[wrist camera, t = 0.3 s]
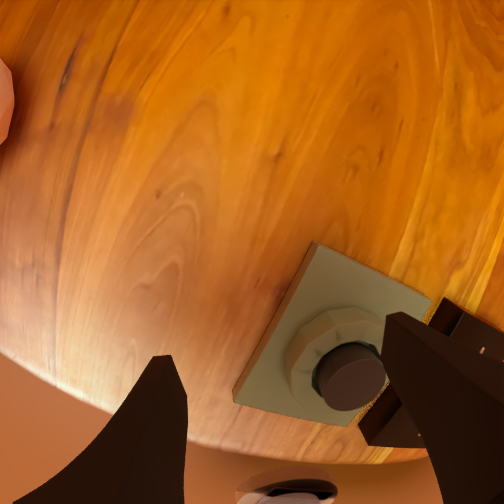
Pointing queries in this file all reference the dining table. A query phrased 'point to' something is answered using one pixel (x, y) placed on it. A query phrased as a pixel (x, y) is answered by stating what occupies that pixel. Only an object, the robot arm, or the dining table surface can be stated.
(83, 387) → the dining table surface
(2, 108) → the geometric ball
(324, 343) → the doorbell
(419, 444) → the lock plate
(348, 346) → the bell button
